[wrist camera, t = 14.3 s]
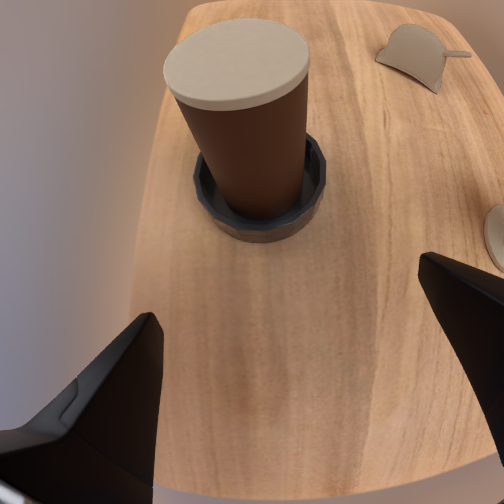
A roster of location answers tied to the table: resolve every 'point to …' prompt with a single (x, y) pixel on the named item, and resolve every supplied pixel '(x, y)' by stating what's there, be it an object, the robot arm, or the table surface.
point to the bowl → (273, 227)
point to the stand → (495, 235)
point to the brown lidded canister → (246, 109)
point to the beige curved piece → (418, 54)
